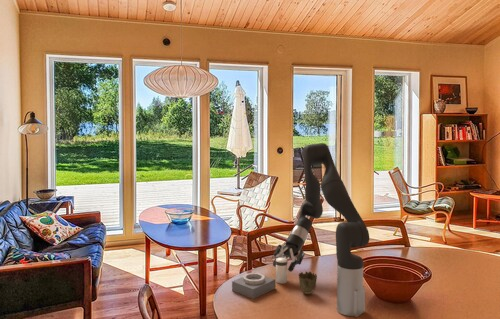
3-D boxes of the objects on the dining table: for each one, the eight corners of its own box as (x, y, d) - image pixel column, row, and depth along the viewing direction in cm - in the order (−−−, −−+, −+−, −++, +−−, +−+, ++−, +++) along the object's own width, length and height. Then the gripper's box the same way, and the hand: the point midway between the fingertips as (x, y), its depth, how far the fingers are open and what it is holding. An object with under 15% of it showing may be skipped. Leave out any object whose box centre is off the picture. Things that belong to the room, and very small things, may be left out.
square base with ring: (275, 288, 160) (275, 275, 160) (253, 299, 150) (253, 285, 150) (254, 281, 168) (254, 269, 168) (232, 290, 158) (232, 277, 158)
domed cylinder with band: (289, 281, 168) (289, 259, 168) (282, 284, 165) (282, 262, 164) (280, 278, 172) (280, 256, 171) (273, 281, 168) (273, 259, 167)
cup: (302, 298, 151) (302, 278, 150) (295, 291, 158) (295, 272, 157) (319, 296, 153) (320, 277, 152) (312, 289, 160) (312, 270, 159)
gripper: (281, 230, 178) (265, 260, 171) (306, 236, 169) (291, 268, 161) (288, 239, 182) (273, 268, 175) (313, 245, 173) (298, 276, 165)
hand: (281, 268), depth 168 cm, fingers open, 8 cm apart
